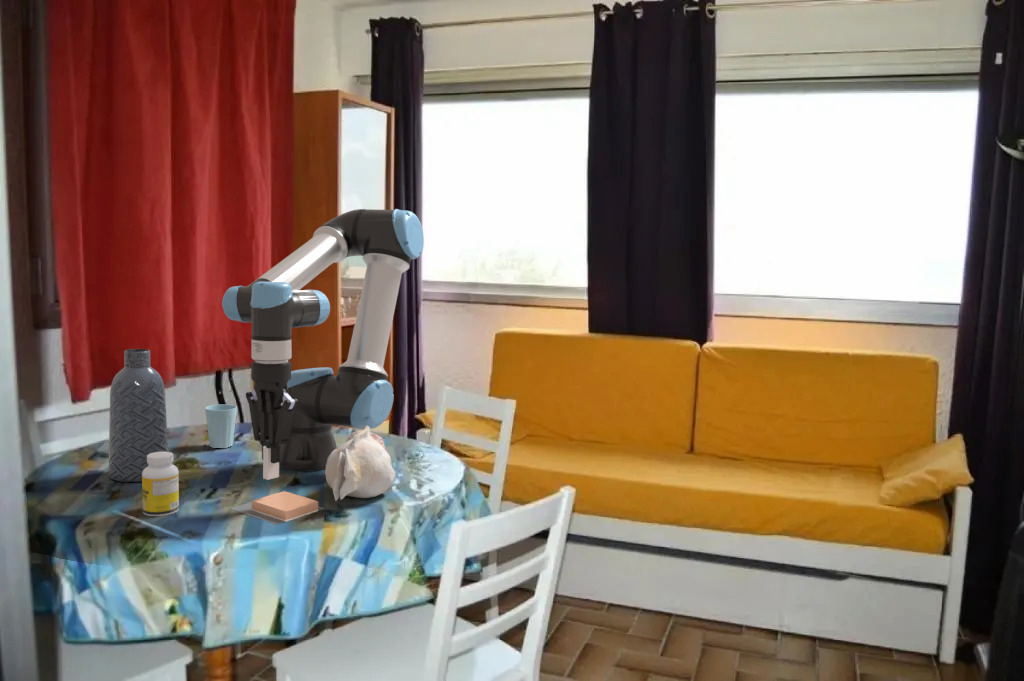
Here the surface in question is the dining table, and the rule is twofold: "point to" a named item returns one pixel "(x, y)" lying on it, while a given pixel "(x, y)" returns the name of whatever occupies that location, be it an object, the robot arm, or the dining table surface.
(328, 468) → the white garlic bulb
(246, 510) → the mat
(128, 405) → the vase
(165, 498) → the pill bottle
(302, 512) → the tile
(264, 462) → the robot arm
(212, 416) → the cup
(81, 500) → the dining table surface
